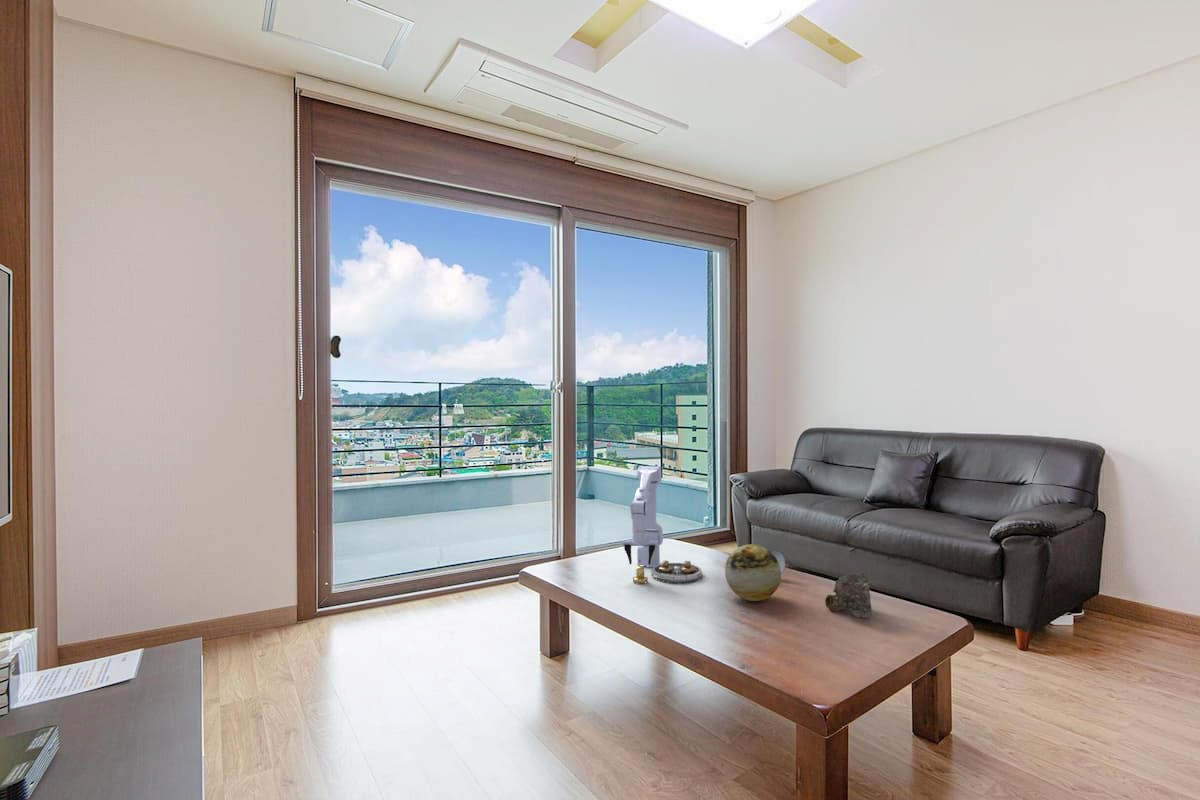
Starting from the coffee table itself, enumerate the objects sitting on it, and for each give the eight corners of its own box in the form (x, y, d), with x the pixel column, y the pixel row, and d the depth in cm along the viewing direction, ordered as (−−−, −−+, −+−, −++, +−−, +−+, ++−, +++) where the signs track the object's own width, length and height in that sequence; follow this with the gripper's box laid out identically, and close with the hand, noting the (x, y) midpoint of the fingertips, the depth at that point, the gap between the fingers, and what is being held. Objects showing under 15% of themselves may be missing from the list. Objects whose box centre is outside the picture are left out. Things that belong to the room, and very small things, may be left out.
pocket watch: (787, 554, 243) (761, 560, 235) (788, 581, 243) (761, 588, 235) (768, 549, 252) (742, 554, 244) (768, 575, 252) (742, 581, 244)
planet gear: (630, 582, 244) (630, 567, 244) (636, 578, 249) (636, 564, 249) (643, 584, 241) (643, 569, 241) (650, 580, 246) (650, 566, 246)
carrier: (643, 579, 249) (643, 566, 249) (663, 566, 267) (663, 554, 267) (691, 586, 239) (691, 573, 239) (708, 572, 257) (708, 560, 257)
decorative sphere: (718, 604, 218) (717, 548, 218) (733, 588, 235) (732, 536, 235) (775, 612, 209) (774, 554, 208) (786, 595, 226) (785, 541, 226)
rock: (881, 568, 200) (832, 556, 206) (875, 609, 192) (825, 595, 198) (874, 592, 213) (828, 580, 219) (868, 631, 205) (821, 618, 211)
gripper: (620, 532, 242) (621, 566, 242) (657, 532, 240) (657, 566, 240) (622, 528, 249) (622, 561, 249) (657, 528, 247) (658, 562, 247)
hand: (640, 563), depth 245 cm, fingers open, 7 cm apart
